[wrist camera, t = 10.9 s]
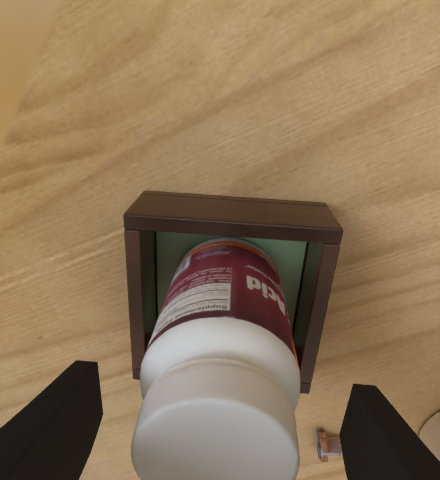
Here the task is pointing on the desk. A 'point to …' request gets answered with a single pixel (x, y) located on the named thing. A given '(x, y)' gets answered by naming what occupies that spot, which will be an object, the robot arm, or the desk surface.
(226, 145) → the desk surface
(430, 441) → the candle
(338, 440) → the figurine
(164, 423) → the pill bottle
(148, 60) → the desk surface
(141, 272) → the dark brown square box
